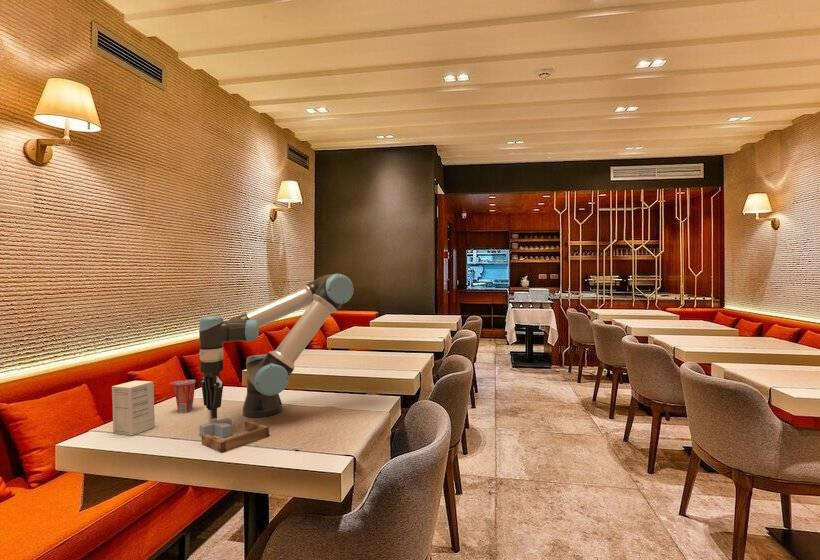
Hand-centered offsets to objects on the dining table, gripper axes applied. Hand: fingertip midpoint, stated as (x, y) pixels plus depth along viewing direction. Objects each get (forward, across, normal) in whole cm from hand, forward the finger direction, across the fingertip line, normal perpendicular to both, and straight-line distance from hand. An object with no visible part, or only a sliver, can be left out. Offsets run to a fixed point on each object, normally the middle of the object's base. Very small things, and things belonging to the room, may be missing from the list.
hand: (212, 426), depth 150 cm
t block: (+2, +5, 0) cm, 5 cm away
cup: (+2, -33, +4) cm, 33 cm away
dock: (+1, +14, 0) cm, 14 cm away
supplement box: (+2, -24, -16) cm, 29 cm away
